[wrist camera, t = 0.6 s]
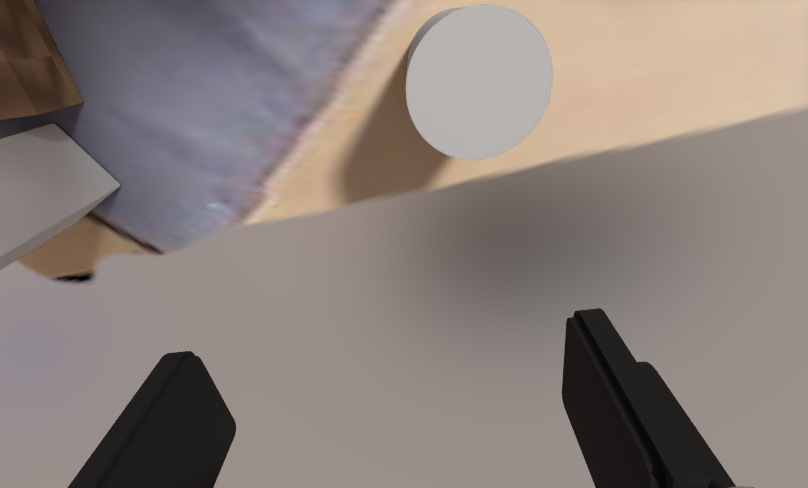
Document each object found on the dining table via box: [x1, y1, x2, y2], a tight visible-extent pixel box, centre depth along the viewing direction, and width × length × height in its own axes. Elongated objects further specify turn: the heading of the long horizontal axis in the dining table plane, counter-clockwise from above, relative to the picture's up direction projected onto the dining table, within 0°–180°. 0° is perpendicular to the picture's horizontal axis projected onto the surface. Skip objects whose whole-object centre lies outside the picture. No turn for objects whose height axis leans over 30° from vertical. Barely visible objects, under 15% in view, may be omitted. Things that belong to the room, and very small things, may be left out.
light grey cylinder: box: [406, 4, 553, 160], centre depth 28 cm, size 8×8×12 cm
